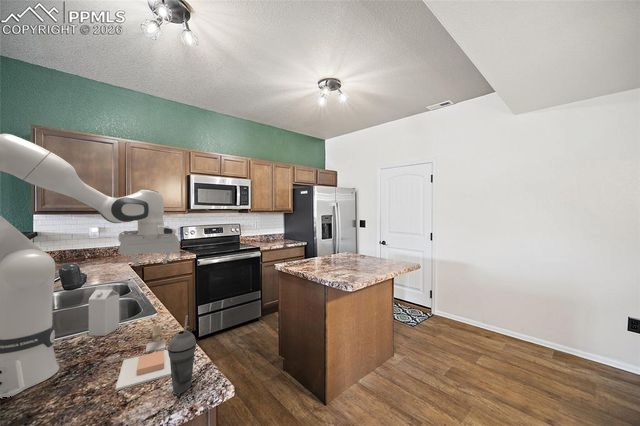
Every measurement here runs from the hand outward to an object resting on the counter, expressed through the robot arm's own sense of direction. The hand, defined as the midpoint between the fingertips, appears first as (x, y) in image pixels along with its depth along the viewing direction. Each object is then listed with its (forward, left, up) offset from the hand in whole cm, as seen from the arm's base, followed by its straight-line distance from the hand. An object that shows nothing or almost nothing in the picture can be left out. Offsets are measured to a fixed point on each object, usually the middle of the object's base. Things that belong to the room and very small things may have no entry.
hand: (151, 264), depth 104 cm
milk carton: (-17, +16, -29) cm, 38 cm away
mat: (0, -24, -29) cm, 38 cm away
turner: (+2, -5, -29) cm, 30 cm away
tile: (+1, -25, -28) cm, 37 cm away
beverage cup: (+9, -41, -29) cm, 51 cm away
